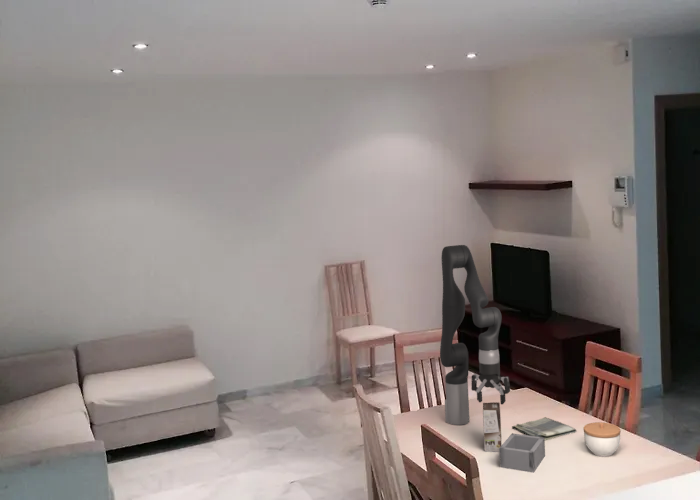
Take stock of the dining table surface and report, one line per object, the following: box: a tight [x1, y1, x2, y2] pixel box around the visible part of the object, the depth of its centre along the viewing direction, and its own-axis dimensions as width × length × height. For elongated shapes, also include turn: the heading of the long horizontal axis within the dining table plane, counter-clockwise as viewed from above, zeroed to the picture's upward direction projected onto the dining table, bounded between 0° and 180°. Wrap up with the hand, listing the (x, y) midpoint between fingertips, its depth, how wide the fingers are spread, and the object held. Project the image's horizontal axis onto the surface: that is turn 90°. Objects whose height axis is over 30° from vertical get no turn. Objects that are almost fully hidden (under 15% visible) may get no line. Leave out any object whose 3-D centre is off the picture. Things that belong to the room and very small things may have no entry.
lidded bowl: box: [583, 421, 621, 457], centre depth 256 cm, size 13×13×11 cm
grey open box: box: [498, 432, 546, 473], centre depth 253 cm, size 12×15×7 cm
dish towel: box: [511, 416, 577, 441], centre depth 281 cm, size 19×18×3 cm
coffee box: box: [482, 401, 502, 453], centre depth 267 cm, size 9×6×16 cm
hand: (491, 402), depth 266 cm, fingers open, 8 cm apart
